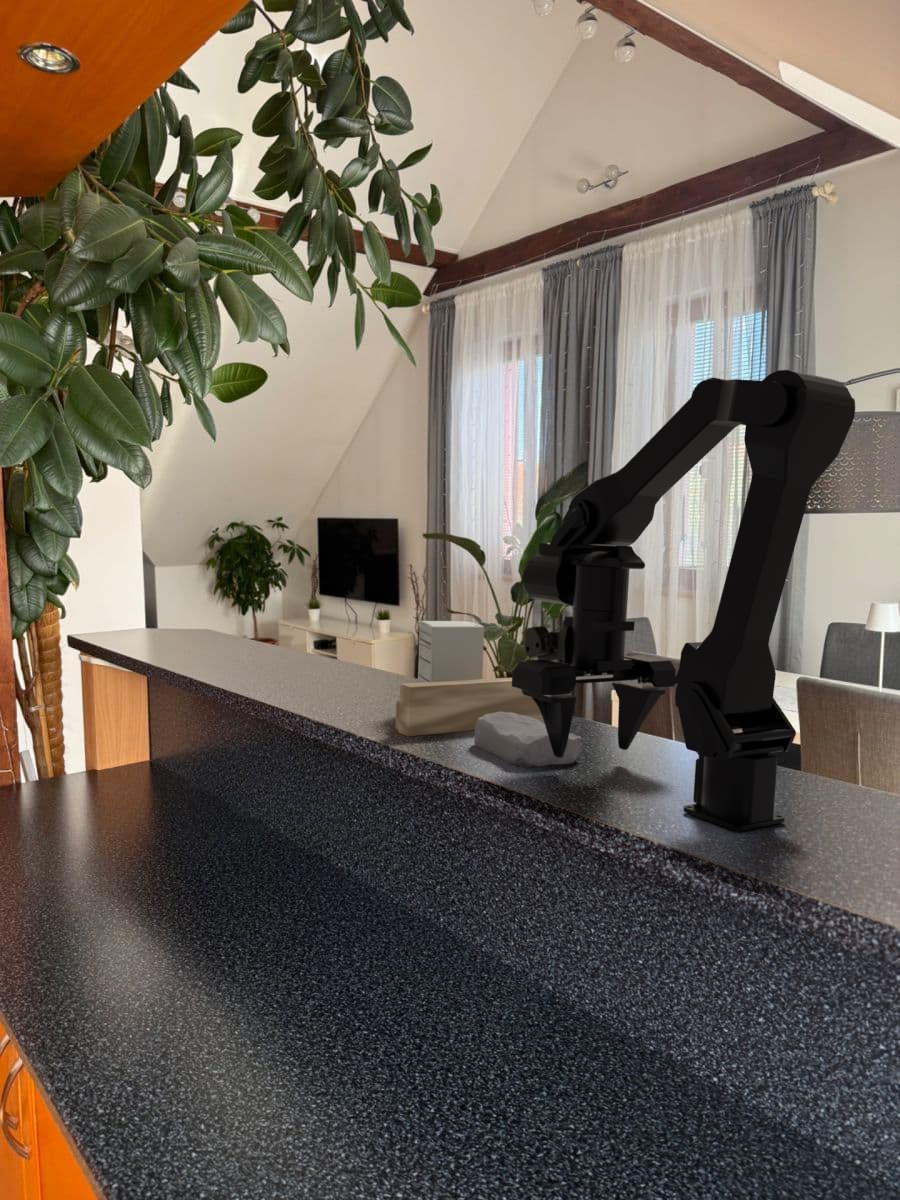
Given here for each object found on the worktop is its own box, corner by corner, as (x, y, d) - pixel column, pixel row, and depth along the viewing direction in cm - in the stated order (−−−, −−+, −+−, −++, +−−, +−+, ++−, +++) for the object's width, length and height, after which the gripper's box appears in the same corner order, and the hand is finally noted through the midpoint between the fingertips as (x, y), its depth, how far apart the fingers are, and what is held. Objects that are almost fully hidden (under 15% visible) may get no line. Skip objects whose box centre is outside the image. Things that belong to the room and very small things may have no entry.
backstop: (550, 722, 122) (552, 678, 121) (408, 736, 110) (410, 687, 110) (530, 716, 125) (532, 673, 125) (390, 729, 114) (392, 681, 113)
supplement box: (465, 708, 129) (469, 620, 129) (481, 719, 122) (485, 626, 121) (415, 709, 127) (418, 619, 126) (428, 720, 120) (432, 625, 119)
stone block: (534, 755, 112) (464, 743, 107) (544, 717, 112) (474, 704, 107) (589, 784, 101) (513, 772, 97) (599, 742, 101) (524, 728, 97)
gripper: (613, 602, 109) (605, 730, 110) (485, 602, 99) (478, 744, 100) (683, 611, 100) (673, 751, 101) (549, 613, 90) (541, 768, 91)
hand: (591, 752), depth 98 cm, fingers open, 9 cm apart
